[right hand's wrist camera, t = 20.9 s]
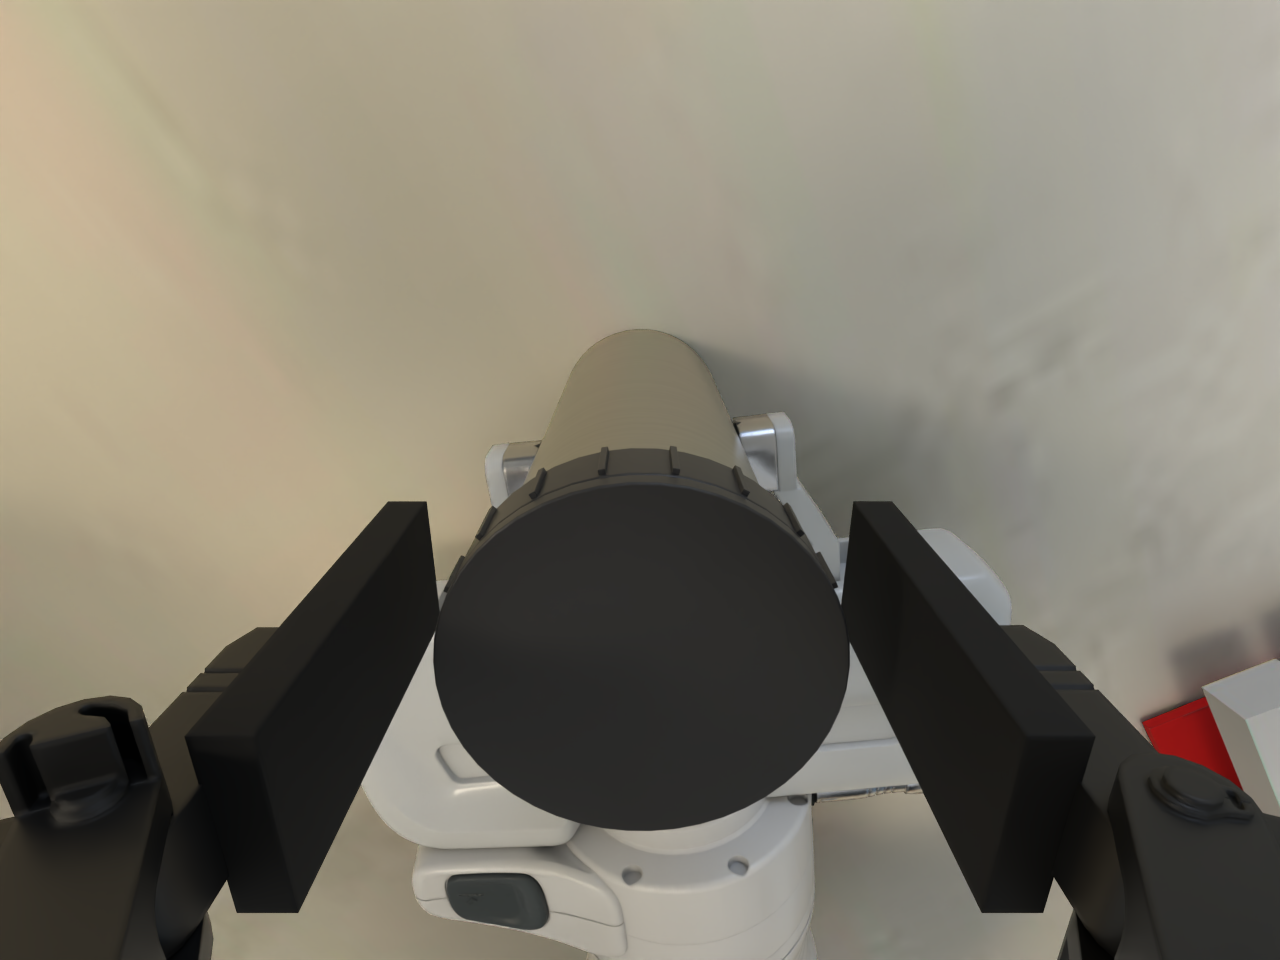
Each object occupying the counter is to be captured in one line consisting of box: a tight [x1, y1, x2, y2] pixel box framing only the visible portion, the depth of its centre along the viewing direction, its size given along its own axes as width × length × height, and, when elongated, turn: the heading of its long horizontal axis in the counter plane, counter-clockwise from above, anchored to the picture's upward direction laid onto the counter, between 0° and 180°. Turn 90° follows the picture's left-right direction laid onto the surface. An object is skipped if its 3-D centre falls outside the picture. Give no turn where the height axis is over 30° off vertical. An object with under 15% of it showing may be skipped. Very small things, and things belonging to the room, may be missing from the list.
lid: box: [433, 446, 850, 831], centre depth 11 cm, size 6×6×2 cm
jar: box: [523, 329, 759, 485], centre depth 18 cm, size 6×6×15 cm
